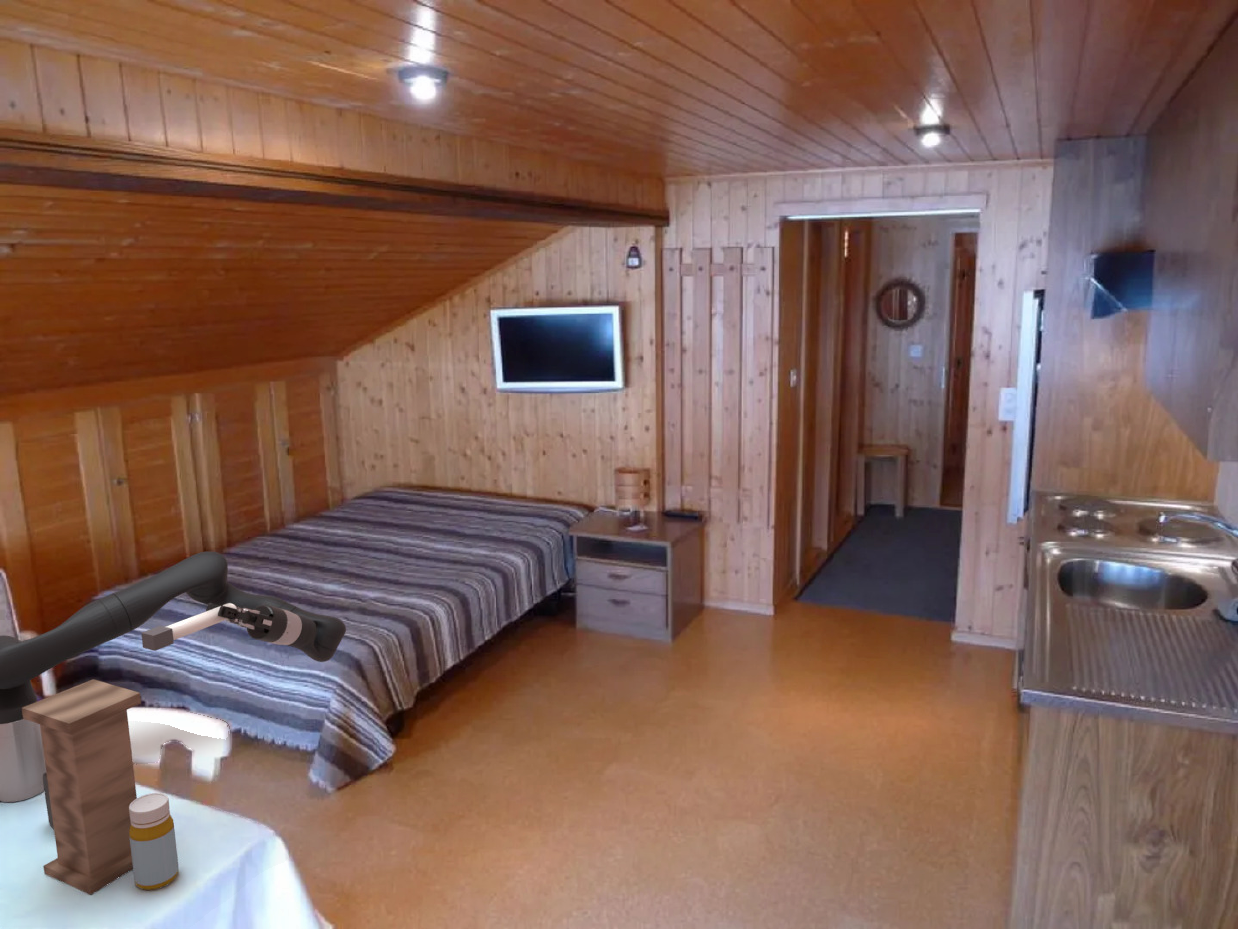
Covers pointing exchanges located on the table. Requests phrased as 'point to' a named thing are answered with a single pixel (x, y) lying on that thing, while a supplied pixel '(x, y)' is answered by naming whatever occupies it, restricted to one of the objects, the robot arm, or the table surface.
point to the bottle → (152, 842)
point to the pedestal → (88, 781)
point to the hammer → (180, 629)
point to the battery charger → (47, 799)
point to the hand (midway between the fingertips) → (214, 609)
